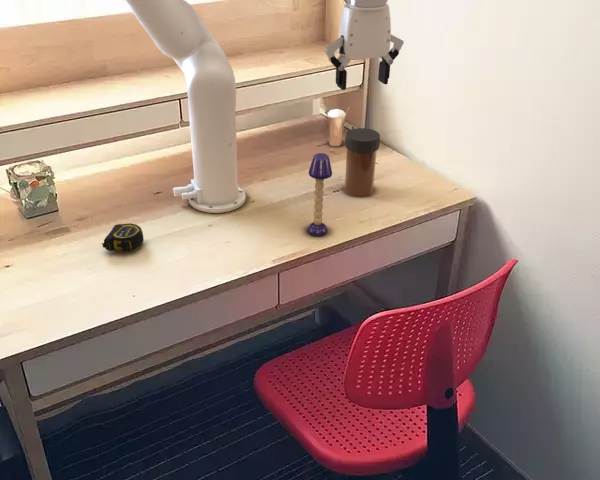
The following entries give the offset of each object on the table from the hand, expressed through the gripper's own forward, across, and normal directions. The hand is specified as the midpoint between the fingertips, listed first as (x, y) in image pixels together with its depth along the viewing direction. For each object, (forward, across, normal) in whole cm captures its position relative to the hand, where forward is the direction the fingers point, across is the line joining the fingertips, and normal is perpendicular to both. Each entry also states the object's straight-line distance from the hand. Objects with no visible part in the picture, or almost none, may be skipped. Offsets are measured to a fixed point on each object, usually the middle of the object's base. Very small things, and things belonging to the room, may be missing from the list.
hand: (362, 85), depth 143 cm
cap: (+11, 0, +1) cm, 11 cm away
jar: (+24, 0, +1) cm, 24 cm away
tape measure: (+24, +55, +7) cm, 60 cm away
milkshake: (+24, -6, -25) cm, 36 cm away
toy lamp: (+24, +16, +15) cm, 32 cm away
